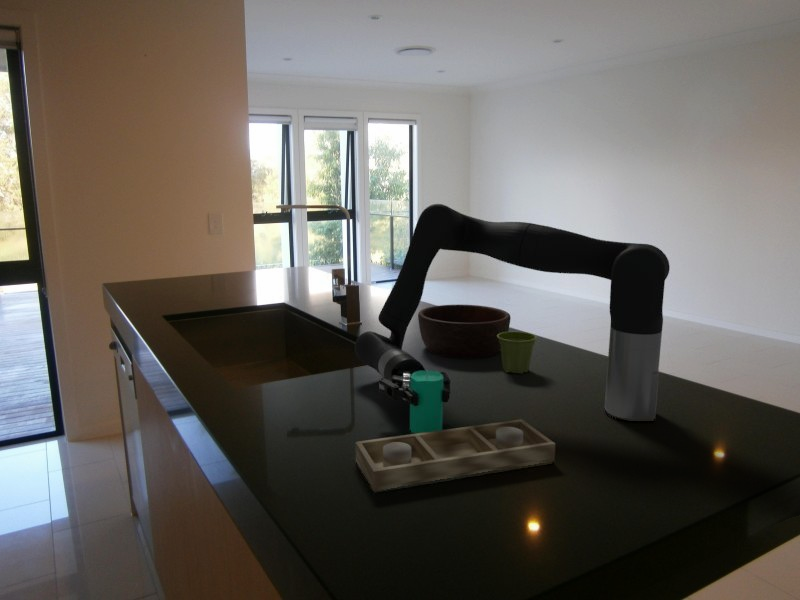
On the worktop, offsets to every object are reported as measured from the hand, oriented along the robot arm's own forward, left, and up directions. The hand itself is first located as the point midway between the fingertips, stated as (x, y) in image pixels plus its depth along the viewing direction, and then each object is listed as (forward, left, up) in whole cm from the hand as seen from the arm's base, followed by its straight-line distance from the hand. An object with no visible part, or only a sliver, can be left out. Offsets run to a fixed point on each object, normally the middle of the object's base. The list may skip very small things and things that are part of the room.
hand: (431, 398), depth 104 cm
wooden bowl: (+10, -58, -7) cm, 60 cm away
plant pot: (-7, -44, -7) cm, 46 cm away
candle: (+2, -2, -7) cm, 8 cm away
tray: (-7, +9, -7) cm, 13 cm away
